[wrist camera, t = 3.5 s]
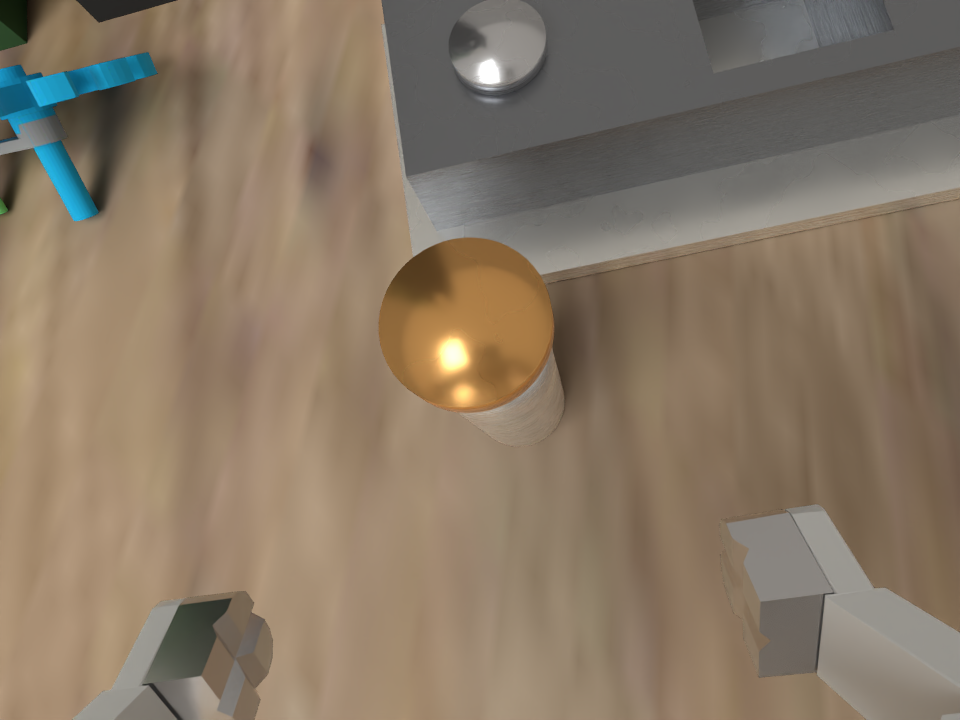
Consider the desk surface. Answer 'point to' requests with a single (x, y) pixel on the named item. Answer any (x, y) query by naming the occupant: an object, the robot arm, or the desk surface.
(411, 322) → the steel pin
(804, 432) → the desk surface
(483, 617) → the desk surface
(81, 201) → the gear
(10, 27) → the binders
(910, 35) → the grey slotted bar
